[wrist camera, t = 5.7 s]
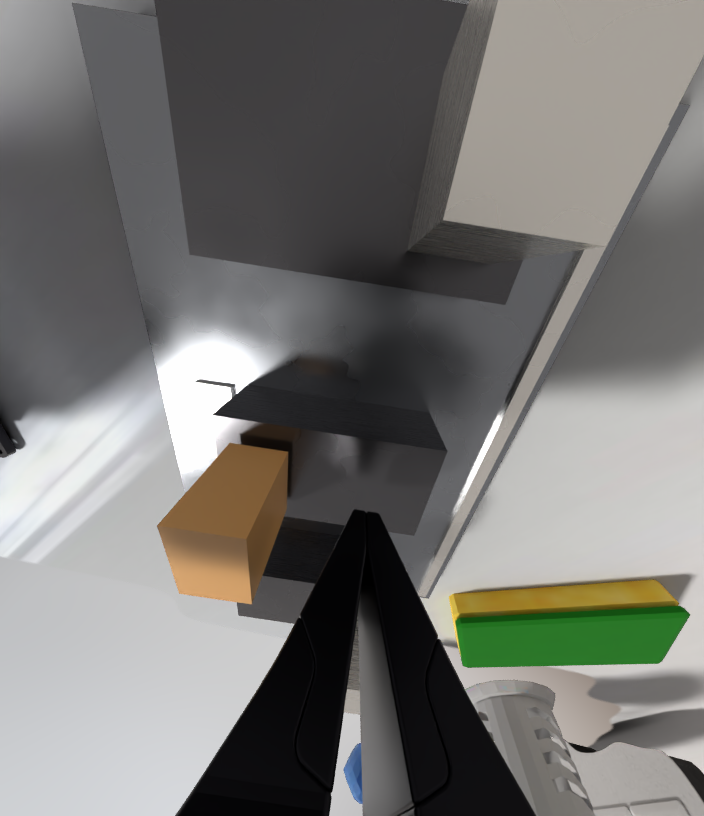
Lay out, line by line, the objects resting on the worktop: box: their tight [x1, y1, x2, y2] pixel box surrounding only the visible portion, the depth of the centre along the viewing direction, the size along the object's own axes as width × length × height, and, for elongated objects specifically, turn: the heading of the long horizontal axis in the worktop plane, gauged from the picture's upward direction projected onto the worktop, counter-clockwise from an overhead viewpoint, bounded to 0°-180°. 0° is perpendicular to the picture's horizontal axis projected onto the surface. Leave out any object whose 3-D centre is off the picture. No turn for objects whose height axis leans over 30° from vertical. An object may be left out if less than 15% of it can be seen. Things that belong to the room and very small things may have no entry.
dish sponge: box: [449, 579, 690, 668], centre depth 19 cm, size 7×14×2 cm, turn 105°
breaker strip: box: [72, 0, 704, 714], centre depth 10 cm, size 16×24×7 cm, turn 172°
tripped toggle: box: [157, 443, 288, 604], centre depth 8 cm, size 2×3×3 cm
